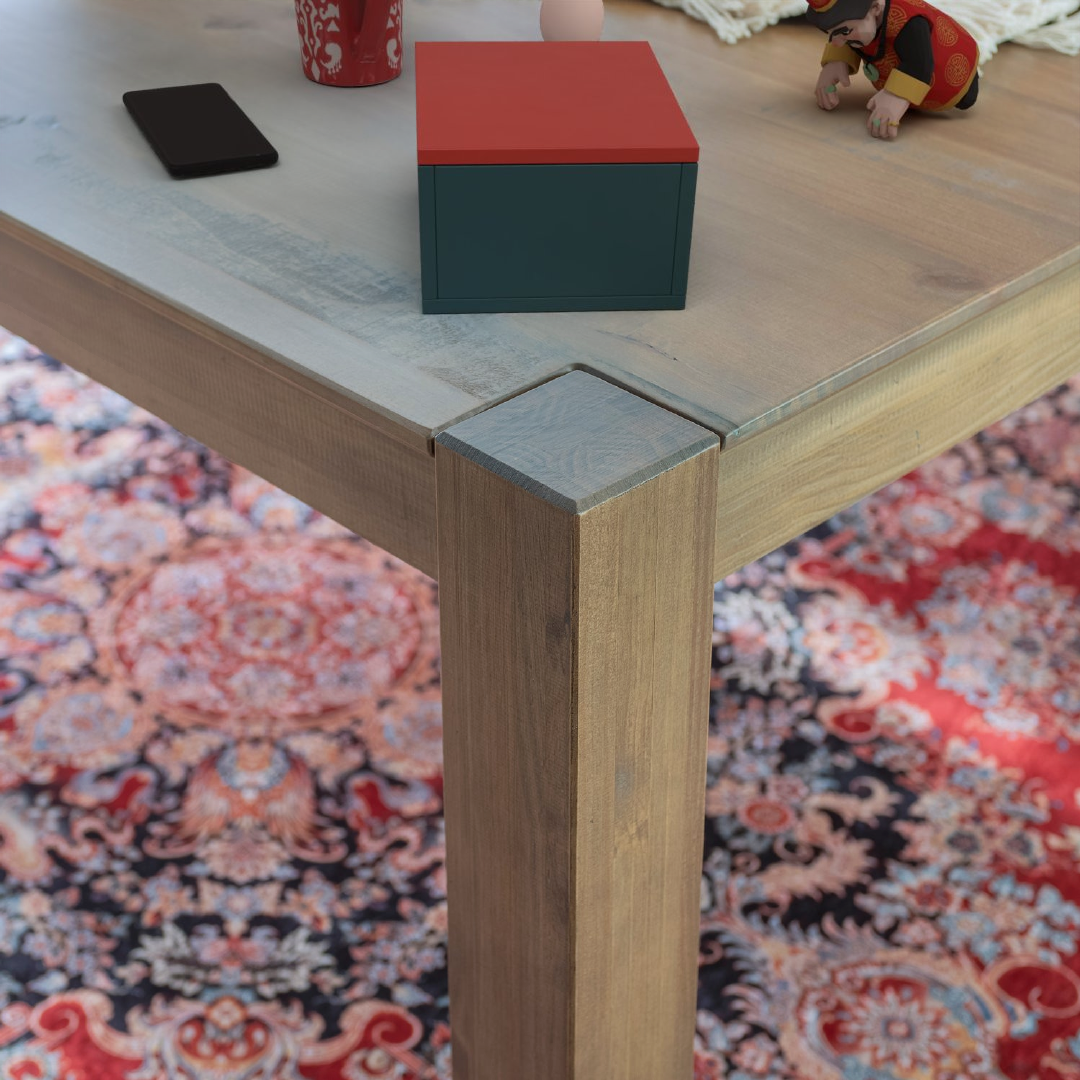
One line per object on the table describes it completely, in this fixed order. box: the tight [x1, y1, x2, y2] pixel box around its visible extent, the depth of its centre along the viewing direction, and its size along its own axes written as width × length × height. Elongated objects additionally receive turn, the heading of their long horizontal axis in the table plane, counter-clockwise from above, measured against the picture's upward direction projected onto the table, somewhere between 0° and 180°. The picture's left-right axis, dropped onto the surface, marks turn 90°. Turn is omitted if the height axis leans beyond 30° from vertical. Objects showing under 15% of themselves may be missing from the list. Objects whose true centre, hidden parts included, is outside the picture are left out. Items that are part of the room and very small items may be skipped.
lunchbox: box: [416, 162, 699, 314], centre depth 75 cm, size 17×14×8 cm
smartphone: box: [121, 82, 280, 178], centre depth 90 cm, size 7×1×15 cm
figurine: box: [805, 0, 981, 139], centre depth 93 cm, size 10×10×15 cm
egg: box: [539, 0, 605, 41], centre depth 103 cm, size 5×5×7 cm
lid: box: [414, 40, 701, 165], centre depth 73 cm, size 17×14×1 cm
